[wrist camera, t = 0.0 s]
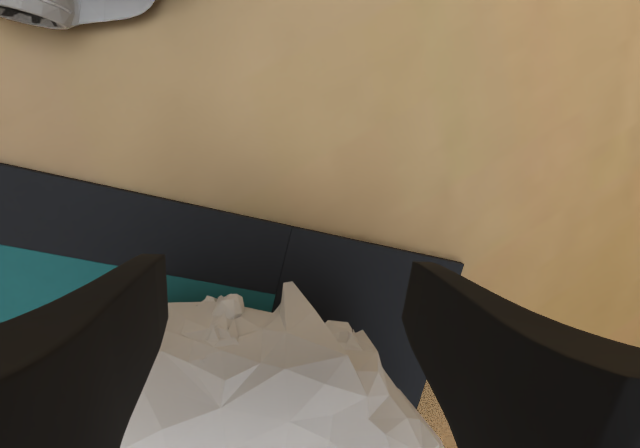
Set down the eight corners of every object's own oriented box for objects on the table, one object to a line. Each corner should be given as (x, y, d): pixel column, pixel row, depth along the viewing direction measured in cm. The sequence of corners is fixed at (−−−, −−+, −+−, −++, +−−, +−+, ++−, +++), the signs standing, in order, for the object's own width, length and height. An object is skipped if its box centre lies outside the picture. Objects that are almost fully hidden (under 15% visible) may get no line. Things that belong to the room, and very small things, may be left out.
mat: (461, 262, 24) (464, 264, 23) (357, 579, 28) (359, 586, 28) (-142, 131, 18) (-151, 131, 18) (-159, 553, 22) (-167, 561, 22)
